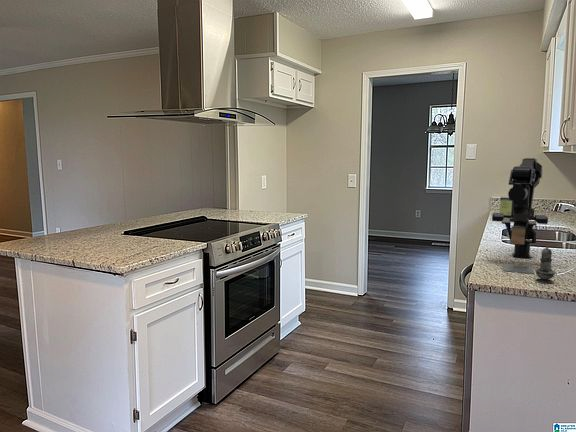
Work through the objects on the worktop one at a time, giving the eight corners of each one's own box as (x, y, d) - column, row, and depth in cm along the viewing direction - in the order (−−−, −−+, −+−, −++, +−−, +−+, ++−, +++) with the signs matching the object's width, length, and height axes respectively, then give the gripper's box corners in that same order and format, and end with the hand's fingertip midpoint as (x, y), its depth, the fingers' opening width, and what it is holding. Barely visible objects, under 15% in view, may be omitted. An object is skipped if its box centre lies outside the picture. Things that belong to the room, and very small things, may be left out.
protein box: (508, 219, 303) (509, 196, 301) (530, 222, 289) (532, 198, 287) (498, 220, 298) (500, 197, 296) (520, 223, 284) (522, 198, 282)
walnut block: (510, 241, 174) (511, 226, 174) (523, 242, 172) (524, 227, 172) (511, 243, 170) (512, 228, 169) (524, 244, 168) (525, 228, 168)
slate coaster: (502, 265, 169) (502, 264, 169) (531, 268, 165) (531, 267, 165) (503, 271, 160) (503, 270, 160) (534, 274, 156) (534, 273, 156)
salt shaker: (547, 279, 150) (550, 244, 149) (558, 283, 144) (561, 247, 143) (530, 279, 150) (533, 244, 148) (540, 284, 144) (543, 247, 142)
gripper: (493, 200, 166) (491, 241, 168) (551, 202, 158) (547, 246, 160) (493, 198, 176) (490, 237, 178) (547, 200, 168) (544, 241, 170)
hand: (517, 240), depth 171 cm, fingers closed on walnut block, 4 cm apart
